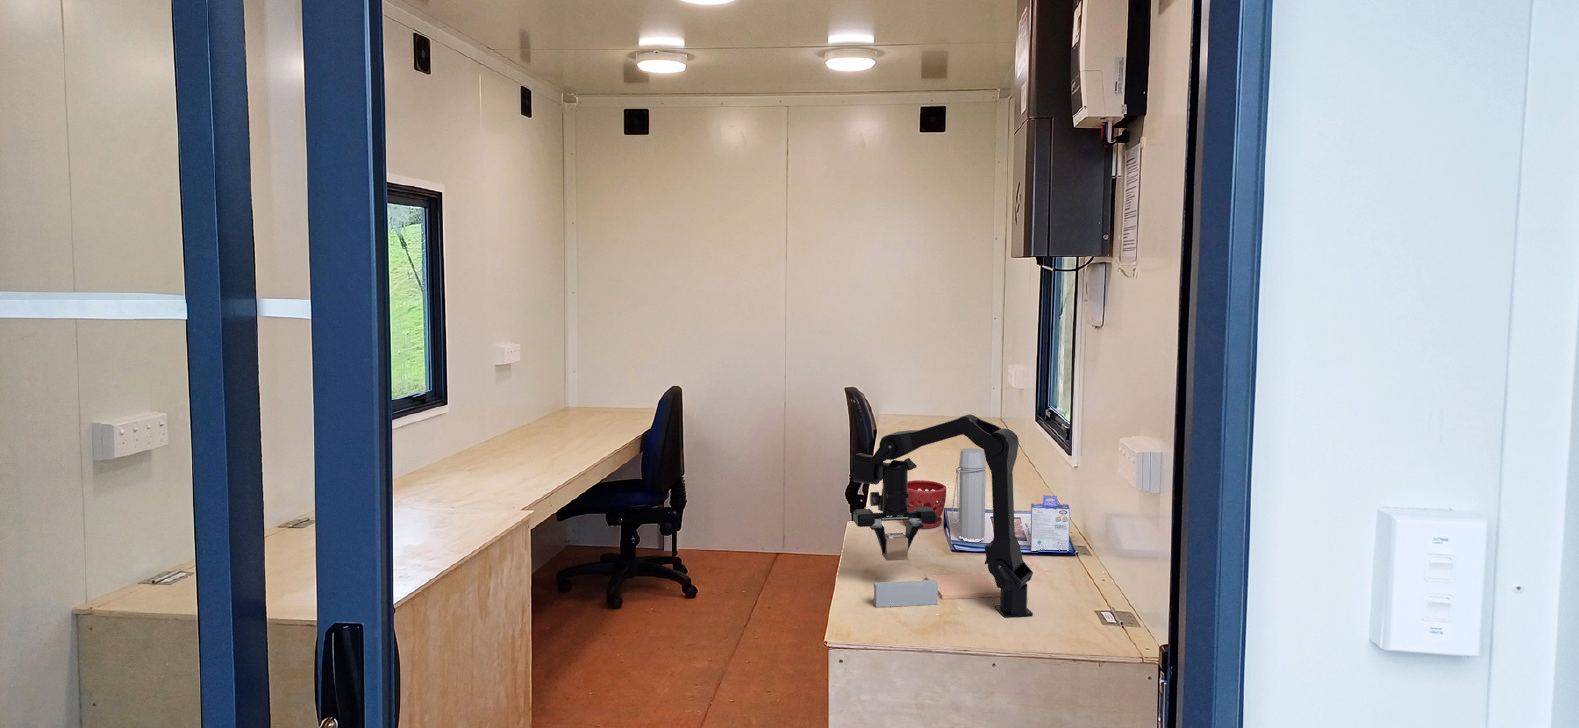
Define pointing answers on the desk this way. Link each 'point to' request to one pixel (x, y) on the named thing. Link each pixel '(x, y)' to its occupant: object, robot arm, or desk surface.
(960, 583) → the mat
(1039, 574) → the desk surface
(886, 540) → the walnut cube
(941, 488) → the plant pot
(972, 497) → the water bottle
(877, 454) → the robot arm
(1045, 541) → the ink cartridge box
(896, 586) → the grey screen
